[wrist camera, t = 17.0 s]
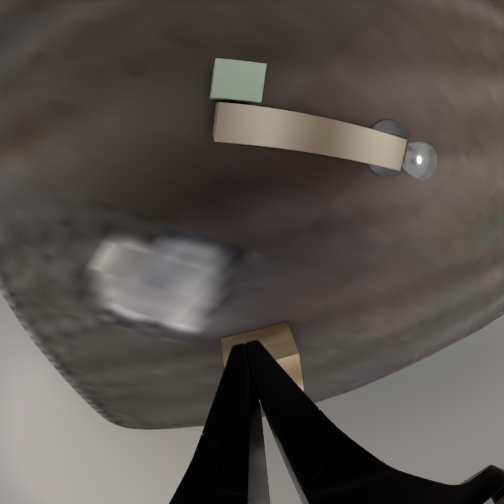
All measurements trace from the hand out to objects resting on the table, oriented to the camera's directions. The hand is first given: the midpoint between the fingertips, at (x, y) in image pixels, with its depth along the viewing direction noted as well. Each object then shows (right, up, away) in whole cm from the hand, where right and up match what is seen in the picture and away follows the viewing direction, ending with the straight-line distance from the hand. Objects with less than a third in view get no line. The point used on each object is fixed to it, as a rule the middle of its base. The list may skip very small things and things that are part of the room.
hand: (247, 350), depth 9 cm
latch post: (-1, +13, +6) cm, 15 cm away
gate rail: (+3, +11, +8) cm, 14 cm away
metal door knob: (+10, +11, +10) cm, 18 cm away
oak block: (+1, -6, +18) cm, 19 cm away
